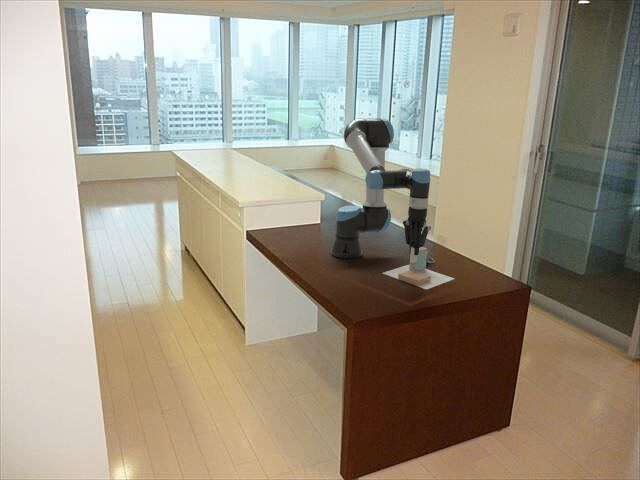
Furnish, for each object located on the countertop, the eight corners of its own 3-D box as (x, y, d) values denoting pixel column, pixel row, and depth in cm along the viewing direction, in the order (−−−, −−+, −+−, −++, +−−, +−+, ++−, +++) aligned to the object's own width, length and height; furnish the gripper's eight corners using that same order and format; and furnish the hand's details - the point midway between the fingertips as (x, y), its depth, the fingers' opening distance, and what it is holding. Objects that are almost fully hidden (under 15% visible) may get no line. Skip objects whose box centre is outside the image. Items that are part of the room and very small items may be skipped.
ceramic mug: (412, 265, 245) (414, 249, 243) (410, 260, 253) (412, 244, 250) (435, 267, 245) (437, 251, 242) (432, 261, 253) (434, 245, 250)
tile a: (398, 273, 223) (417, 280, 216) (412, 269, 229) (430, 275, 222) (398, 279, 224) (416, 286, 217) (411, 274, 230) (430, 281, 223)
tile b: (408, 272, 232) (410, 250, 229) (421, 268, 238) (423, 247, 235) (413, 274, 231) (414, 252, 228) (425, 269, 236) (427, 248, 233)
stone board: (381, 275, 231) (381, 273, 231) (410, 266, 244) (410, 263, 244) (426, 292, 214) (426, 289, 214) (454, 281, 227) (455, 278, 227)
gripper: (399, 205, 217) (395, 259, 224) (425, 211, 208) (420, 267, 215) (411, 202, 222) (406, 256, 229) (436, 209, 213) (431, 264, 220)
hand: (413, 261), depth 222 cm, fingers closed
